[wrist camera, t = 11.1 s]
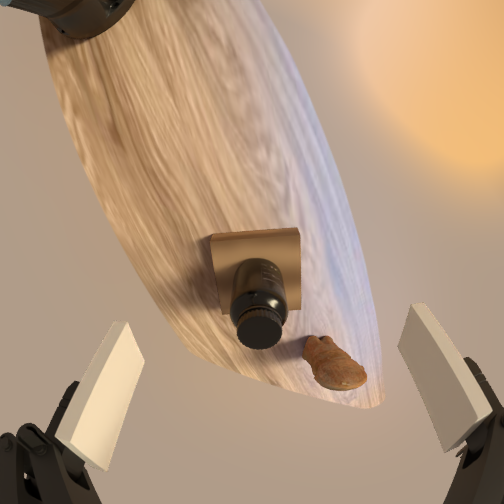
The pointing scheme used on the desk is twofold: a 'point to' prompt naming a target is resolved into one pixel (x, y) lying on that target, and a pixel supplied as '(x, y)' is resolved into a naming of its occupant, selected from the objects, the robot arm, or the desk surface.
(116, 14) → the robot arm
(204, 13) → the desk surface
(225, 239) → the pedestal
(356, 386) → the figurine
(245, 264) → the supplement bottle
